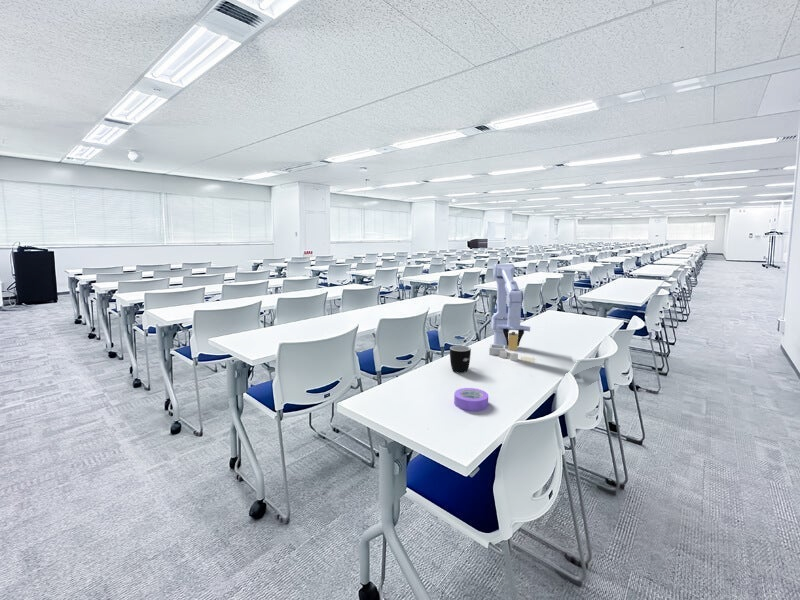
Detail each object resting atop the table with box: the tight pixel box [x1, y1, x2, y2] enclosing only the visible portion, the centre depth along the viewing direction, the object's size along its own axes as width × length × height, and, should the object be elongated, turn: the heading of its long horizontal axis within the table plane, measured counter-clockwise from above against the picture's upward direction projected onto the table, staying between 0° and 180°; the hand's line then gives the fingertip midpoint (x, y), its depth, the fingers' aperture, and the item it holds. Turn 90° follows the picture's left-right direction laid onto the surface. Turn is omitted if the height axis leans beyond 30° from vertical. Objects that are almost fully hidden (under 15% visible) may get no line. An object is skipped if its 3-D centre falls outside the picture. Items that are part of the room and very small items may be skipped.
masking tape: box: [453, 387, 489, 412], centre depth 133 cm, size 12×12×4 cm
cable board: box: [488, 343, 535, 363], centre depth 181 cm, size 16×22×4 cm
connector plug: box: [507, 331, 518, 351], centre depth 176 cm, size 4×4×8 cm
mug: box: [449, 344, 472, 374], centre depth 166 cm, size 12×9×10 cm
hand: (512, 345), depth 176 cm, fingers closed on connector plug, 4 cm apart
